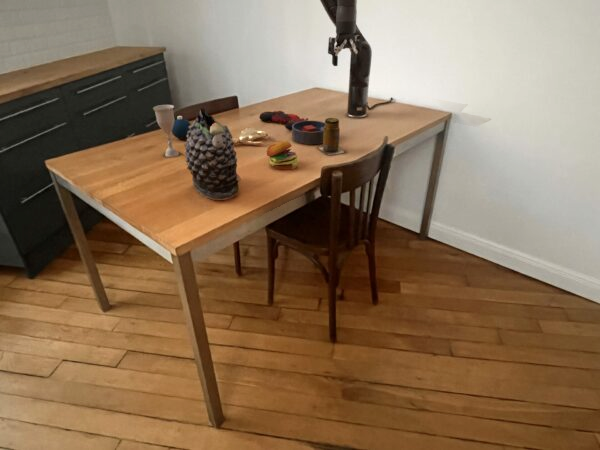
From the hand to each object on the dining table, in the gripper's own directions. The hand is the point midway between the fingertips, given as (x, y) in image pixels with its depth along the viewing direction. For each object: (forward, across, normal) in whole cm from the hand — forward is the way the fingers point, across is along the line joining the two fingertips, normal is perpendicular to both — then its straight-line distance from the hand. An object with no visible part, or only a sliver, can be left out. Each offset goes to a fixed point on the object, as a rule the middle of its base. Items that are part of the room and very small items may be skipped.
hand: (344, 64), depth 161 cm
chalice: (+28, -70, +11) cm, 76 cm away
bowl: (+28, -16, 0) cm, 32 cm away
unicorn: (+28, -39, +11) cm, 49 cm away
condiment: (+28, -15, -16) cm, 35 cm away
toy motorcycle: (+28, -14, +24) cm, 39 cm away
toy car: (+27, -16, 0) cm, 31 cm away
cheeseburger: (+28, -38, -19) cm, 51 cm away
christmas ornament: (+28, -62, +27) cm, 73 cm away
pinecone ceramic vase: (+28, -66, -25) cm, 76 cm away
